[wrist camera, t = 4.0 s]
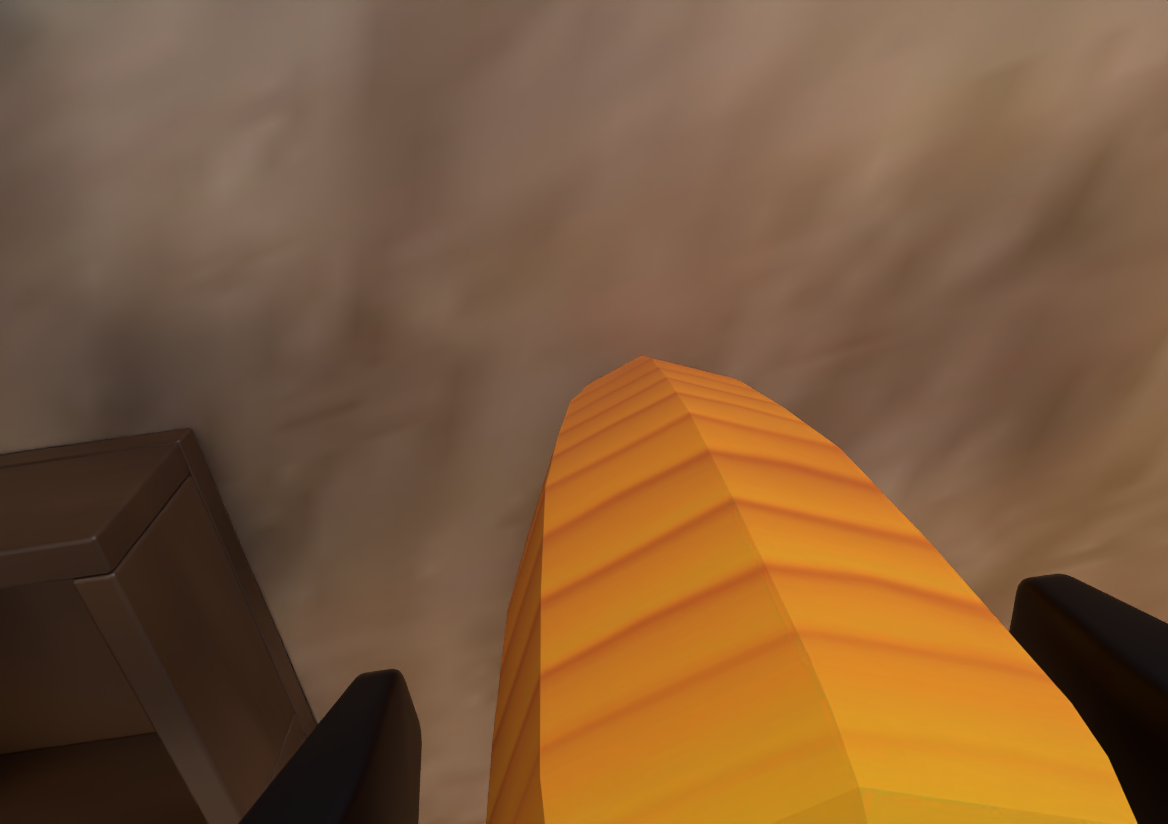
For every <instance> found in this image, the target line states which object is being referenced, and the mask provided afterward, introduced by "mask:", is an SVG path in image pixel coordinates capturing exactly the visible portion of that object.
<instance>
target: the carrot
mask: <svg viewBox="0 0 1168 824" xmlns="http://www.w3.org/2000/svg"><path fill="white" fill-rule="evenodd" d="M486 824H1137V821H1136V819H1135V817H1134V815H1133V812H1132V810H1131V808H1130V805H1129V803H1128V801H1127V799H1126V796H1125V794H1124V792H1123V790H1122V787H1121V785H1120V783H1119V781H1118V778H1117V776H1116V774H1115V772H1114V769H1113V767H1112V765H1111V763H1110V760H1109V758H1108V756H1107V755H1106V753H1105V752H1104V750H1103V749H1102V747H1101V746H1100V744H1099V743H1098V741H1097V740H1096V738H1095V737H1094V736H1093V734H1092V733H1091V731H1090V730H1089V728H1088V727H1087V725H1086V724H1085V722H1084V721H1083V719H1082V718H1081V716H1080V715H1079V713H1078V712H1077V711H1076V709H1075V708H1074V706H1073V705H1072V703H1071V702H1070V701H1069V700H1068V699H1067V697H1066V696H1065V695H1064V694H1063V693H1062V692H1061V691H1060V689H1059V688H1058V687H1057V686H1056V685H1055V684H1054V683H1053V682H1052V680H1051V679H1050V678H1049V677H1048V676H1047V675H1046V674H1045V672H1044V671H1043V670H1042V669H1041V668H1040V667H1039V666H1038V665H1037V663H1036V662H1035V661H1034V660H1033V659H1032V658H1031V657H1030V655H1029V654H1028V653H1027V652H1026V651H1025V650H1024V649H1023V648H1022V646H1021V645H1020V644H1019V643H1018V642H1017V641H1016V640H1015V638H1014V637H1013V636H1012V635H1011V634H1010V633H1009V632H1008V631H1007V629H1006V628H1005V627H1004V626H1003V625H1002V624H1001V623H1000V621H999V620H998V619H997V618H996V617H995V616H994V615H993V614H992V612H991V611H990V610H989V609H988V608H987V607H986V606H985V604H984V603H983V602H982V601H981V600H980V599H979V598H978V596H977V595H976V594H975V593H974V592H973V591H972V590H971V589H970V587H969V586H968V585H967V584H966V583H965V582H964V581H963V579H962V578H961V577H960V576H959V575H958V574H957V573H956V572H955V570H954V569H953V568H952V567H951V566H950V565H949V564H948V562H947V561H946V560H945V559H944V558H943V557H942V556H941V555H940V553H939V552H938V551H937V550H936V549H935V548H934V547H933V545H932V544H931V543H930V542H929V541H928V540H927V539H926V538H925V537H924V536H923V535H922V534H921V533H920V531H919V530H918V529H917V528H916V527H915V526H914V525H913V524H912V523H911V522H910V521H909V520H908V519H907V518H906V517H905V516H904V515H903V514H902V513H901V512H900V511H899V510H898V509H897V507H896V506H895V505H894V504H893V503H892V502H891V501H890V500H889V499H888V498H887V497H886V496H885V495H884V494H883V493H882V492H881V491H880V490H879V489H878V488H877V487H876V486H875V484H874V483H873V482H872V481H871V480H870V479H869V478H868V477H867V476H866V475H865V474H864V473H863V472H862V471H861V470H860V469H859V468H858V467H857V466H856V465H855V464H854V463H853V461H852V460H851V459H850V458H849V457H848V456H847V455H846V454H845V453H844V452H843V451H842V450H841V449H840V448H839V447H838V446H836V445H835V444H833V443H832V442H831V441H829V440H828V439H826V438H825V437H824V436H822V435H821V434H820V433H818V432H817V431H815V430H814V429H813V428H811V427H810V426H809V425H807V424H806V423H804V422H803V421H802V420H800V419H799V418H797V417H796V416H795V415H793V414H792V413H791V412H789V411H788V410H786V409H785V408H784V407H782V406H781V405H779V404H777V403H776V402H774V401H772V400H771V399H769V398H767V397H766V396H764V395H762V394H761V393H759V392H757V391H756V390H754V389H753V388H751V387H749V386H748V385H746V384H744V383H743V382H741V381H739V380H738V379H734V378H730V377H726V376H722V375H718V374H714V373H710V372H706V371H702V370H698V369H694V368H690V367H686V366H682V365H678V364H674V363H670V362H665V361H661V360H657V359H653V358H649V357H645V356H640V357H638V358H636V359H634V360H632V361H630V362H628V363H627V364H625V365H623V366H621V367H619V368H617V369H615V370H614V371H612V372H610V373H608V374H606V375H604V376H602V377H600V378H599V379H597V380H595V381H593V382H591V383H589V384H588V385H587V386H586V387H585V388H584V389H583V390H582V391H581V392H580V393H579V394H578V395H577V396H576V397H575V398H574V399H572V400H571V401H570V404H569V407H568V410H567V412H566V415H565V418H564V421H563V424H562V426H561V429H560V432H559V435H558V438H557V441H556V444H555V448H554V451H553V454H552V458H551V461H550V464H549V467H548V471H547V474H546V477H545V481H544V484H543V487H542V490H541V494H540V497H539V500H538V504H537V507H536V510H535V514H534V517H533V520H532V523H531V527H530V530H529V533H528V537H527V540H526V544H525V548H524V552H523V555H522V559H521V563H520V567H519V570H518V574H517V578H516V581H515V585H514V589H513V593H512V596H511V600H510V604H509V608H508V611H507V620H506V629H505V637H504V646H503V655H502V664H501V672H500V681H499V690H498V698H497V707H496V716H495V725H494V733H493V742H492V755H491V768H490V780H489V793H488V806H487V818H486Z"/></svg>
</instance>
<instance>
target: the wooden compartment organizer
mask: <svg viewBox="0 0 1168 824" xmlns="http://www.w3.org/2000/svg"><path fill="white" fill-rule="evenodd" d="M316 727H317V726H316V724H315V721H314V719H313V717H312V714H311V712H310V710H309V707H308V705H307V702H306V700H305V698H304V695H303V693H302V691H301V688H300V686H299V683H298V681H297V679H296V676H295V674H294V672H293V669H292V667H291V664H290V662H289V660H288V657H287V655H286V653H285V650H284V648H283V645H282V643H281V641H280V638H279V636H278V634H277V631H276V629H275V626H274V624H273V622H272V619H271V617H270V615H269V612H268V610H267V607H266V605H265V603H264V600H263V598H262V596H261V593H260V591H259V588H258V586H257V584H256V581H255V579H254V577H253V574H252V572H251V569H250V567H249V565H248V562H247V560H246V558H245V555H244V553H243V550H242V548H241V546H240V543H239V541H238V539H237V536H236V534H235V532H234V529H233V527H232V524H231V522H230V520H229V517H228V515H227V513H226V510H225V508H224V505H223V503H222V501H221V498H220V496H219V494H218V491H217V489H216V486H215V484H214V482H213V479H212V477H211V475H210V472H209V470H208V467H207V465H206V463H205V460H204V458H203V456H202V453H201V451H200V448H199V446H198V444H197V441H196V439H195V437H194V434H193V432H192V430H191V429H190V428H186V429H179V430H172V431H165V432H158V433H151V434H145V435H138V436H131V437H124V438H117V439H110V440H104V441H97V442H90V443H83V444H76V445H69V446H63V447H56V448H49V449H42V450H35V451H28V452H22V453H15V454H8V455H1V456H0V824H238V823H239V822H240V821H241V819H242V818H243V817H244V816H245V814H246V813H247V812H248V811H249V810H250V808H251V807H252V806H253V805H254V803H255V802H256V801H257V800H258V798H259V797H260V796H261V795H262V793H263V792H264V791H265V790H266V788H267V787H268V786H269V785H270V784H271V782H272V781H273V780H274V779H275V777H276V776H277V775H278V774H279V772H280V771H281V770H282V769H283V767H284V766H285V765H286V764H287V762H288V761H289V760H290V759H291V757H292V756H293V755H294V754H295V753H296V751H297V750H298V749H299V748H300V746H301V745H302V744H303V743H304V741H305V740H306V739H307V738H308V736H309V735H310V734H311V733H312V731H313V730H314V729H315V728H316Z"/></svg>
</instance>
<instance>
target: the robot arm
mask: <svg viewBox="0 0 1168 824" xmlns="http://www.w3.org/2000/svg"><path fill="white" fill-rule="evenodd" d="M1009 633H1010V634H1011V635H1012V636H1013V637H1014V638H1015V640H1016V641H1017V642H1018V643H1019V644H1020V645H1021V646H1022V648H1023V649H1024V650H1025V651H1026V652H1027V653H1028V654H1029V655H1030V657H1031V658H1032V659H1033V660H1034V661H1035V662H1036V663H1037V665H1038V666H1039V667H1040V668H1041V669H1042V670H1043V671H1044V672H1045V674H1046V675H1047V676H1048V677H1049V678H1050V679H1051V680H1052V682H1053V683H1054V684H1055V685H1056V686H1057V687H1058V688H1059V689H1060V691H1061V692H1062V693H1063V694H1064V695H1065V696H1066V697H1067V699H1068V700H1069V701H1070V702H1071V703H1072V705H1073V706H1074V708H1075V709H1076V711H1077V712H1078V713H1079V715H1080V716H1081V718H1082V719H1083V721H1084V722H1085V724H1086V725H1087V727H1088V728H1089V730H1090V731H1091V733H1092V734H1093V736H1094V737H1095V738H1096V740H1097V741H1098V743H1099V744H1100V746H1101V747H1102V749H1103V750H1104V752H1105V753H1106V755H1107V756H1108V758H1109V760H1110V763H1111V765H1112V767H1113V769H1114V772H1115V774H1116V776H1117V778H1118V781H1119V783H1120V785H1121V787H1122V790H1123V792H1124V794H1125V796H1126V799H1127V801H1128V803H1129V805H1130V808H1131V810H1132V812H1133V815H1134V817H1135V819H1136V821H1137V824H1168V623H1166V622H1163V621H1161V620H1159V619H1157V618H1155V617H1153V616H1151V615H1149V614H1147V613H1145V612H1143V611H1141V610H1139V609H1137V608H1135V607H1133V606H1131V605H1129V604H1127V603H1125V602H1122V601H1120V600H1118V599H1116V598H1114V597H1112V596H1110V595H1108V594H1106V593H1104V592H1102V591H1100V590H1098V589H1096V588H1094V587H1092V586H1090V585H1088V584H1086V583H1084V582H1082V581H1079V580H1077V579H1075V578H1073V577H1071V576H1068V575H1065V574H1052V575H1045V576H1037V577H1030V578H1026V579H1024V580H1022V582H1021V583H1020V584H1019V585H1018V588H1017V592H1016V597H1015V603H1014V608H1013V614H1012V620H1011V625H1010V631H1009ZM421 747H422V741H421V729H420V723H419V720H418V717H417V714H416V711H415V708H414V705H413V702H412V699H411V696H410V693H409V690H408V687H407V684H406V682H405V679H404V676H403V675H402V673H401V672H400V671H399V670H397V669H388V670H381V671H374V672H367V673H363V674H361V675H359V676H358V677H357V678H356V679H355V680H354V681H353V682H352V683H351V684H350V686H349V687H348V688H347V689H346V691H345V692H344V693H343V694H342V696H341V697H340V698H339V699H338V701H337V702H336V703H335V704H334V705H333V707H332V708H331V709H330V710H329V712H328V713H327V714H326V715H325V717H324V718H323V719H322V720H321V722H320V723H319V724H318V725H317V727H316V728H315V729H314V730H313V731H312V733H311V734H310V735H309V736H308V738H307V739H306V740H305V741H304V743H303V744H302V745H301V746H300V748H299V749H298V750H297V751H296V753H295V754H294V755H293V756H292V757H291V759H290V760H289V761H288V762H287V764H286V765H285V766H284V767H283V769H282V770H281V771H280V772H279V774H278V775H277V776H276V777H275V779H274V780H273V781H272V782H271V784H270V785H269V786H268V787H267V788H266V790H265V791H264V792H263V793H262V795H261V796H260V797H259V798H258V800H257V801H256V802H255V803H254V805H253V806H252V807H251V808H250V810H249V811H248V812H247V813H246V814H245V816H244V817H243V818H242V819H241V821H240V822H239V823H238V824H418V814H419V792H420V770H421Z"/></svg>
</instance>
